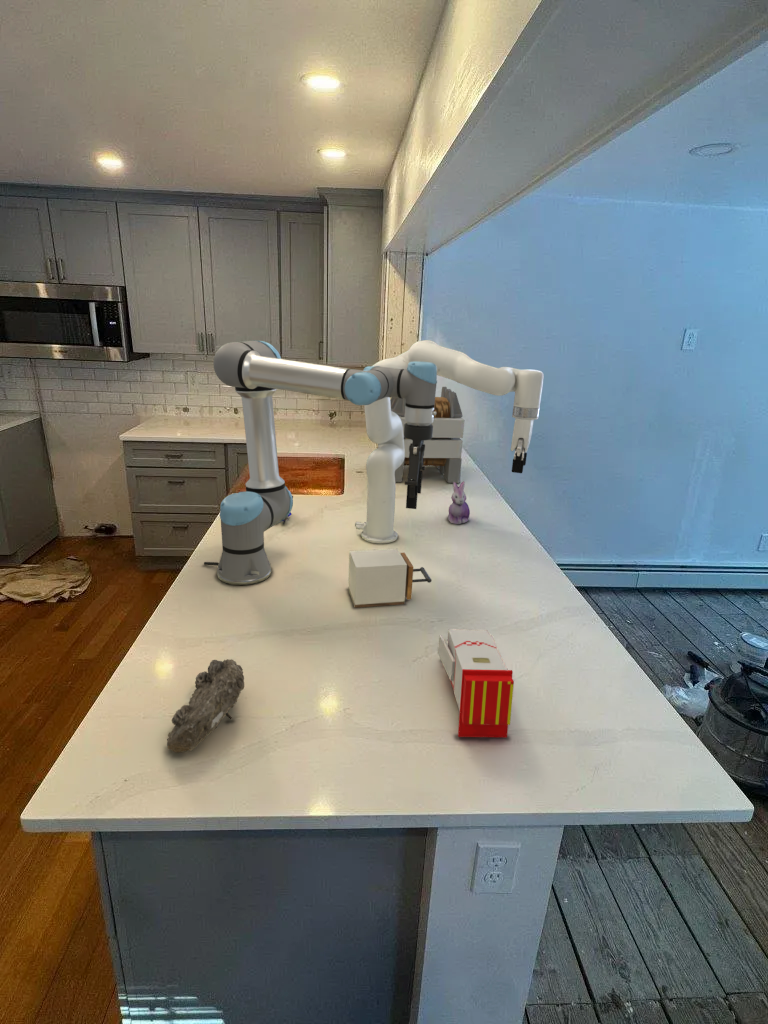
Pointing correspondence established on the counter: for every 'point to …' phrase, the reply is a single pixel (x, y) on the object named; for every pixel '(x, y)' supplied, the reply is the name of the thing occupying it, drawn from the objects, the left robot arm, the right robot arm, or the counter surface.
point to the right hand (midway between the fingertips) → (518, 468)
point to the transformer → (438, 436)
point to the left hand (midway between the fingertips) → (413, 500)
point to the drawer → (410, 576)
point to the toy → (478, 682)
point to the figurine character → (287, 516)
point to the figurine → (458, 505)
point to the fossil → (206, 705)
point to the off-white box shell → (377, 577)
